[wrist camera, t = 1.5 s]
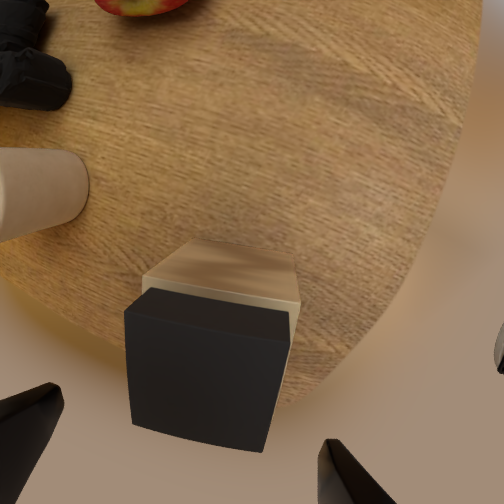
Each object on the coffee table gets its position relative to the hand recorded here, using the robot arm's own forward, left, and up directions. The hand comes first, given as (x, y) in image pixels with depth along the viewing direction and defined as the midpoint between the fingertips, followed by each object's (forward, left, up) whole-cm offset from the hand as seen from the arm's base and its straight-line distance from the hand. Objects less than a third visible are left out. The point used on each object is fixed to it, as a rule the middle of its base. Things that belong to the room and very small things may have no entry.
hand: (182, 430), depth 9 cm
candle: (+14, -5, -13) cm, 20 cm away
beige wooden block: (0, 0, -13) cm, 13 cm away
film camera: (+21, -16, -13) cm, 30 cm away
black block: (0, 0, -5) cm, 5 cm away
